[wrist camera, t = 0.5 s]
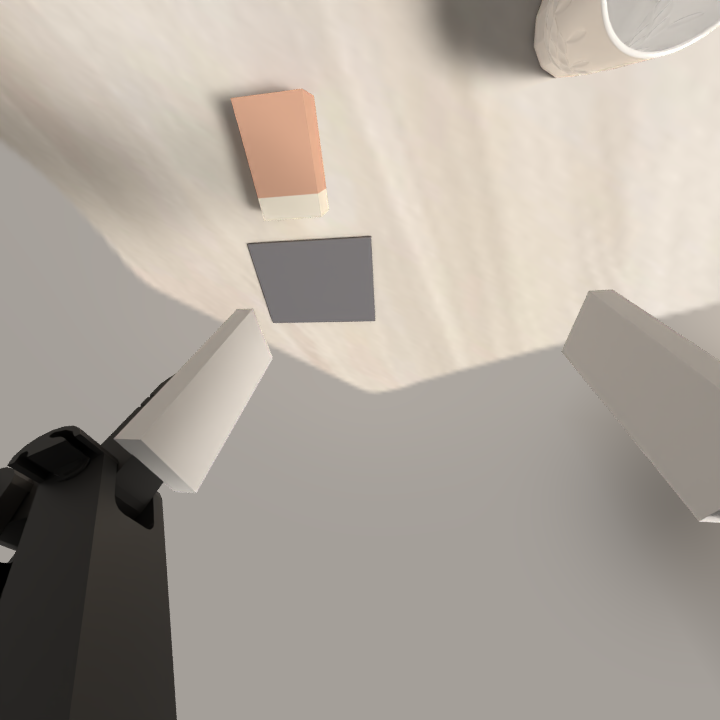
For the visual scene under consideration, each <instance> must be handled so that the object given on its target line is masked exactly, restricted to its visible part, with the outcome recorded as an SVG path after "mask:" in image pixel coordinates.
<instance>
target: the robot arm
mask: <svg viewBox="0 0 720 720" xmlns="http://www.w3.org/2000/svg"><path fill="white" fill-rule="evenodd" d="M562 353H563V354H564V355H565V356H566V358H567V359H568V360H569V361H570V363H572V365H573V366H574V367H575V369H576V370H577V371H578V372H579V374H580V375H581V376H582V377H583V378H584V380H585V381H586V382H587V384H588V385H589V386H590V387H591V389H592V390H593V391H594V392H595V393H596V395H597V396H598V397H599V398H600V400H601V401H602V402H603V403H604V404H605V406H606V407H607V408H608V409H609V411H610V412H611V413H612V414H613V416H614V417H615V418H616V419H617V421H618V422H619V423H620V424H621V425H622V427H623V428H624V429H625V430H626V432H627V433H628V434H629V435H630V437H631V438H632V439H633V440H634V442H635V443H636V444H637V445H638V447H639V448H640V449H641V450H642V451H643V453H644V454H645V455H646V456H647V458H648V459H649V460H650V461H651V463H652V464H653V465H654V466H655V467H656V469H657V470H658V471H659V472H660V474H661V475H662V476H663V477H664V479H665V480H666V481H667V482H668V483H669V485H670V486H671V487H672V488H673V490H674V491H675V492H676V493H677V495H678V496H679V497H680V498H681V500H682V501H683V502H684V503H685V504H686V506H687V507H688V508H689V509H690V511H691V512H692V513H693V514H694V515H695V517H696V518H697V519H698V521H701V522H718V523H720V361H719V360H718V359H716V358H715V357H713V356H712V355H710V354H709V353H707V352H706V351H704V350H703V349H701V348H700V347H698V346H697V345H695V344H694V343H692V342H691V341H689V340H688V339H686V338H685V337H683V336H682V335H680V334H679V333H677V332H676V331H674V330H673V329H671V328H669V327H668V326H667V325H665V324H664V323H662V322H660V321H659V320H658V319H656V318H655V317H653V316H652V315H650V314H649V313H647V312H646V311H644V310H643V309H641V308H640V307H638V306H637V305H635V304H634V303H632V302H630V301H629V300H627V299H626V298H624V297H623V296H621V295H620V294H618V293H617V292H615V291H614V290H597V291H589V292H588V294H587V296H586V298H585V301H584V303H583V305H582V307H581V309H580V312H579V314H578V316H577V318H576V320H575V323H574V325H573V327H572V329H571V331H570V334H569V336H568V338H567V340H566V342H565V345H564V347H563V349H562ZM271 360H272V355H271V352H270V350H269V347H268V345H267V342H266V340H265V337H264V335H263V332H262V330H261V327H260V325H259V322H258V320H257V317H256V315H255V312H254V310H253V309H237V310H236V311H235V312H234V313H233V314H232V315H231V316H230V317H229V318H228V319H227V320H226V321H225V322H224V323H223V324H222V326H221V327H220V328H219V329H218V330H217V331H216V332H215V333H214V334H213V335H212V336H211V337H210V338H209V339H208V340H207V341H206V342H205V343H204V345H203V346H202V347H201V348H200V349H199V350H198V351H197V352H196V353H195V354H194V355H193V356H192V357H191V358H190V359H189V360H188V361H187V362H186V363H185V364H184V365H183V366H182V368H181V369H180V370H179V371H178V372H177V373H176V374H174V375H173V376H171V377H170V378H168V379H167V380H165V381H164V382H163V383H161V384H160V385H159V386H158V387H157V388H156V389H155V390H154V391H153V392H152V393H151V394H150V397H148V398H146V399H145V401H143V403H142V404H141V407H138V408H137V409H136V410H135V411H134V412H133V413H132V414H131V415H130V416H129V417H128V418H127V419H126V420H125V421H124V422H123V423H122V424H121V425H120V426H119V427H118V428H117V429H116V430H115V431H114V432H113V433H112V434H111V436H109V437H108V438H107V439H106V440H105V441H104V442H103V443H102V444H101V445H100V444H98V443H97V442H96V441H94V440H93V439H92V438H91V437H90V436H88V435H87V434H86V433H85V432H84V431H82V430H81V429H80V428H78V427H76V426H65V427H61V428H58V429H55V430H52V431H50V432H48V433H46V434H44V435H42V436H40V437H38V438H36V439H35V440H33V441H32V442H30V443H29V444H27V445H26V446H25V447H24V448H22V449H21V450H20V451H19V452H18V453H17V454H16V455H15V456H14V457H13V458H12V460H11V461H10V462H9V464H8V466H9V467H11V468H8V467H6V468H1V469H0V545H2V546H5V547H7V548H10V549H13V550H16V552H15V554H14V556H13V557H12V558H11V559H10V561H9V562H8V563H1V562H0V720H177V719H176V718H177V716H176V702H175V687H174V673H173V656H172V641H171V627H170V611H169V597H168V581H167V566H166V553H165V538H164V537H165V536H164V521H163V507H162V498H161V495H160V493H158V492H157V490H158V489H159V487H160V486H161V484H162V483H165V484H166V485H167V486H168V487H169V488H170V489H171V490H173V491H174V492H189V493H196V492H197V491H198V489H199V487H200V485H201V483H202V482H203V480H204V478H205V476H206V475H207V473H208V471H209V469H210V468H211V466H212V464H213V462H214V461H215V459H216V457H217V455H218V454H219V452H220V450H221V448H222V447H223V445H224V443H225V441H226V440H227V438H228V436H229V434H230V432H231V431H232V429H233V427H234V426H235V424H236V422H237V420H238V418H239V417H240V415H241V413H242V411H243V410H244V408H245V406H246V404H247V403H248V401H249V399H250V397H251V395H252V394H253V392H254V390H255V388H256V387H257V385H258V383H259V381H260V380H261V378H262V376H263V374H264V372H265V371H266V369H267V367H268V366H269V364H270V362H271ZM12 468H13V469H12Z"/></svg>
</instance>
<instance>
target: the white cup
mask: <svg viewBox="0 0 720 720" xmlns="http://www.w3.org/2000/svg"><path fill="white" fill-rule="evenodd" d="M719 25H720V0H542V3H541V5H540V8H539V11H538V13H537V16H536V25H535V37H534V49H535V52H536V55H537V57H538V60H539V63H540V66H541V68H542V69H544V70H545V71H547V72H548V73H550V74H551V75H552V76H554V77H555V78H560V77H572V76H579V75H588V74H592V73H597V72H602V71H606V70H612V69H616V68H619V67H623V66H627V65H631V64H635V63H638V62H642V61H646V60H650V59H654V58H658V57H662V56H666V55H669V54H672V53H674V52H677V51H679V50H681V49H684V48H686V47H687V46H689V45H691V44H693V43H695V42H696V41H698V40H700V39H701V38H703V37H704V36H706V35H707V34H708V33H710V32H711V31H713V30H714V29H715V28H717V27H718V26H719Z"/></svg>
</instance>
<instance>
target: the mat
mask: <svg viewBox="0 0 720 720" xmlns="http://www.w3.org/2000/svg"><path fill="white" fill-rule="evenodd" d="M248 247H249V250H250V253H251V256H252V260H253V263H254V266H255V269H256V272H257V275H258V278H259V281H260V284H261V287H262V290H263V293H264V296H265V299H266V302H267V305H268V309H269V312H270V315H271V318H272V321H273V323H298V322H353V321H375V306H374V286H373V266H372V246H371V236H369V237H352V238H335V239H318V240H301V241H284V242H267V243H250V244H248Z"/></svg>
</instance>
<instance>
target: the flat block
mask: <svg viewBox="0 0 720 720" xmlns="http://www.w3.org/2000/svg"><path fill="white" fill-rule="evenodd" d="M231 102H232V105H233V109H234V113H235V116H236V120H237V123H238V127H239V131H240V134H241V138H242V142H243V145H244V149H245V153H246V156H247V160H248V164H249V167H250V171H251V174H252V178H253V182H254V185H255V189H256V193H257V196H258V200H259V204H260V207H261V211H262V215H263V218H264V221H273V220H287V219H302V218H316V217H322V216H323V215H324V214H325V213H326V212H327V211H328V210H329V205H328V198H327V191H326V183H325V176H324V168H323V161H322V153H321V146H320V138H319V131H318V123H317V116H316V109H315V101H314V96H313V95H312V94H310V93H308V92H307V91H305V90H303V89H296V90H289V91H281V92H274V93H266V94H259V95H251V96H244V97H236V98H231Z"/></svg>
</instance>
